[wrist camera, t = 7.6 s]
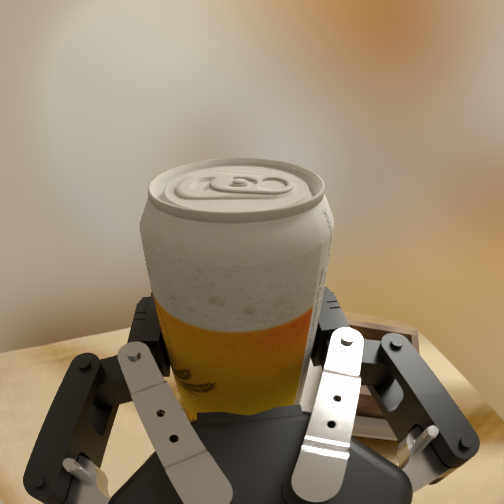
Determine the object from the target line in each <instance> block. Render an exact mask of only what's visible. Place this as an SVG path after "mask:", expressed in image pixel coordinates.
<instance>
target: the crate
mask: <svg viewBox="0 0 504 504" xmlns="http://www.w3.org/2000/svg"><path fill="white" fill-rule="evenodd" d="M347 321H348V323H349V326H350V328H351V329H354V330H356V331H357V332H359V333H360V334H361V336H362V337H363V338H364V339H368V340H377V341H381V340H382V338H383V337H384V336H385V335H386V334H388V333H398V334H401V335H403V336H404V337H406V338H407V339H408V340H409V342H410V343H411V344H412V345H413V347H414V348H415V349H416V351H417V352H418V353H419V343H418V333H417V330H410V329H403V328H397V327H391V326H384V325H378V324H372V323H366V322H360V321H355V320H349V319H347ZM355 416H362V417H369V418H376V419H385V417H384V415H383V414H382V412H381V410H380V408H379V407H378V405H377V403H376V402H375V400H374V398H373V397H372V395H371V393H370V391H369V390H368V388H367V386H366V385H360V390H359V396H358V402H357V408H356V414H355ZM385 420H386V419H385Z"/></svg>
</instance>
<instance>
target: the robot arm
mask: <svg viewBox="0 0 504 504" xmlns="http://www.w3.org/2000/svg"><path fill="white" fill-rule="evenodd" d="M311 360H312V363H313V366H314V367H315V366H321V367H322V370H323V371H322V374H321V378H320V382H319V386H318V389H317V393H316V396H315V400H314V404H313V407H312V410H311V412H307V411H302V409H301V405H300V404H298V405H290V406H283V407H275V408H272V409H269V410H266V411H263V412H260V413H257V414H254V415H241V414H234V413H227V412H204V413H197V420H194V421H191V422H189V420H188V419H187V417H186V415H185V413H184V412H183V410H182V408H181V406H180V405H179V403H178V401H177V399H176V397H175V396H174V394H173V392H172V390H171V388H170V386H169V384H168V383H167V381H165V380H164V378H163V377H169V376H170V365H171V364H170V360H169V357H168V353H167V350H166V346H165V342H164V338H163V335H162V331H161V327H160V323H159V319H158V315H157V311H156V306H155V302H154V298H153V293H151V297H143V298H142V299H141V300H140V302H139V303H138V304H137V307H136V310H135V314H134V319H133V322H132V326H131V330H130V334H129V338H128V342H127V344H125V345H124V346H122V347H121V348H120V350H119V351H118V354H117V355H115V356H113V357H109V358H105V359H101V360H99V358H98V357H97V356H96V355H95V354H92V353H83V354H80V355H78V356H77V357H75V358H74V359H73V361H72V362H71V364H70V366H69V368H68V370H67V372H66V374H65V376H64V378H63V381H62V383H61V385H60V387H59V389H58V391H57V393H56V396H55V398H54V400H53V402H52V405H51V407H50V409H49V411H48V414H47V416H46V418H45V421H44V423H43V426H42V428H41V430H40V433H39V435H38V438H37V440H36V443H35V446H34V448H33V451H32V453H31V456H30V459H29V462H28V464H27V467H26V470H25V473H24V476H23V484H24V487H25V489H26V491H27V492H28V494H29V495H31V496H32V497H34V498H35V499H37V500H39V501H41V502H42V503H43V504H411V502H412V497H413V493H414V492H416V491H417V490H419V489H421V488H422V487H424V486H426V485H427V484H429V485H432V484H436V483H438V482H439V481H441V480H442V479H444V478H445V477H447V476H448V475H449V474H451V473H452V472H454V471H455V470H456V469H458V468H459V467H460V466H462V465H463V464H464V463H465V462H467V461H468V460H469V459H471V458H472V457H473V456H474V455H475V454H476V453H477V452H478V449H479V445H480V441H479V437H478V435H477V434H476V432H475V431H474V429H473V428H472V426H471V425H470V423H469V422H468V420H467V419H466V417H465V416H464V415H463V413H462V412H461V410H460V409H459V407H458V406H457V405H456V403H455V402H454V400H453V399H452V398H451V396H450V395H449V393H448V392H447V391H446V389H445V388H444V386H443V385H442V384H441V382H440V381H439V380H438V378H437V377H436V376H435V374H434V373H433V372H432V370H431V369H430V368H429V366H428V365H427V364H426V362H425V361H424V360H423V358H422V357H421V356H420V354H419V353H418V352H417V351H416V349H415V348H414V347H413V345H412V344H411V343H410V342H409V340H408V339H407V338H406V337H404V336H403V335H401V334H398V333H388V334H386V335H385V336H384V337H383V338H382V340H381V341H377V340H368V339H364V338H363V337H362V336H361V334H360V333H359V332H357V331H356V330H354V329H351V328H350V326H349V323H348V321H347V319H346V317H345V315H344V313H343V311H342V309H341V308H340V305H339V303H338V302H337V299H336V297H335V295H334V293H333V292H332V291H330V290H329V289H328V288H327V287H324V292H323V298H322V304H321V309H320V314H319V320H318V325H317V330H316V335H315V340H314V345H313V349H312V354H311ZM360 385H366V386H367V388H368V390H369V391H370V393H371V395H372V397H373V398H374V400H375V402H376V403H377V405H378V407H379V408H380V410H381V412H382V414H383V415H384V417H385V419H386V420H387V422H388V424H389V426H390V427H391V429H392V431H393V433H394V434H395V436H396V438H397V439H398V441H399V443H400V444H399V446H398V448H397V458H398V462H399V467H398V466H396V465H395V464H393V463H392V462H390V461H389V460H387V459H385V458H384V457H382V456H381V455H379V454H378V453H376V452H375V451H373V450H372V449H370V448H369V447H367V446H366V445H364V444H363V443H361V442H360V441H358V440H357V439H355V438H354V437H353V436H351V434H352V429H353V424H354V419H355V414H356V408H357V402H358V396H359V390H360ZM130 401H133V402H134V405H135V407H136V409H137V412H138V414H139V416H140V419H141V421H142V423H143V425H144V428H145V430H146V432H147V434H148V436H149V438H150V440H151V443H152V445H153V447H154V449H155V452H154V453H153V454H152V455H151V456H150V457H149V458H148V459H147V460H146V462H145V463H144V464H143V465H142V466H141V467H140V468H139V469H138V470H137V471H136V472H135V473H134V474H133V475H132V476H131V477H130V478H129V479H128V481H127V482H126V483H125V484H124V485H123V486H122V487H121V488H120V489H119V490H118V491H117V492H116V493H115V494H114V495H113V496H112V497H110V495H109V493H108V480H107V477H106V475H105V473H104V472H103V471H102V470H101V469H100V467H101V463H102V460H103V456H104V453H105V449H106V446H107V442H108V439H109V436H110V432H111V429H112V426H113V423H114V419H115V416H116V413H117V410H118V407H119V404H122V403H126V402H130Z"/></svg>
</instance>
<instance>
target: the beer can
mask: <svg viewBox="0 0 504 504" xmlns="http://www.w3.org/2000/svg"><path fill="white" fill-rule="evenodd" d="M324 190H325V185H324V182H323V180H322V179H321V178H320V177H319V176H318V175H317V174H315V173H314V172H312V171H310V170H308V169H305V168H302V167H300V166H297V165H294V164H290V163H285V162H280V161H275V160H268V159H257V158H223V159H212V160H204V161H199V162H193V163H189V164H185V165H181V166H179V167H175V168H173V169H170V170H168V171H165V172H163V173H162V174H160V175H158V176H157V177H155V178H154V179H153V180H152V181H151V183H150V184H149V186H148V200H147V203H146V206H145V209H144V212H143V215H142V218H141V221H140V232H141V238H142V244H143V249H144V255H145V260H146V265H147V270H148V275H149V279H150V284H151V288H152V293H153V298H154V302H155V306H156V311H157V315H158V319H159V323H160V327H161V331H162V335H163V338H164V342H165V346H166V350H167V353H168V357H169V360H170V364H171V367H172V371H173V374H174V378H175V381H176V384H177V387H178V391H179V394H180V397H181V400H182V403H183V406H184V409H185V412H186V415H187V418H188V420H189V422H191V421H194V420H197V413H204V412H227V413H234V414H241V415H254V414H257V413H260V412H263V411H266V410H269V409H272V408H275V407H283V406H290V405H298V404H300V402H301V398H302V394H303V389H304V385H305V381H306V377H307V372H308V368H309V363H310V359H311V354H312V349H313V345H314V340H315V335H316V330H317V325H318V320H319V314H320V309H321V304H322V298H323V292H324V287H325V281H326V274H327V269H328V262H329V256H330V249H331V242H332V235H333V228H334V219H333V216H332V213H331V210H330V207H329V205H328V202H327V199H326V197H325V194H324Z"/></svg>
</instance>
